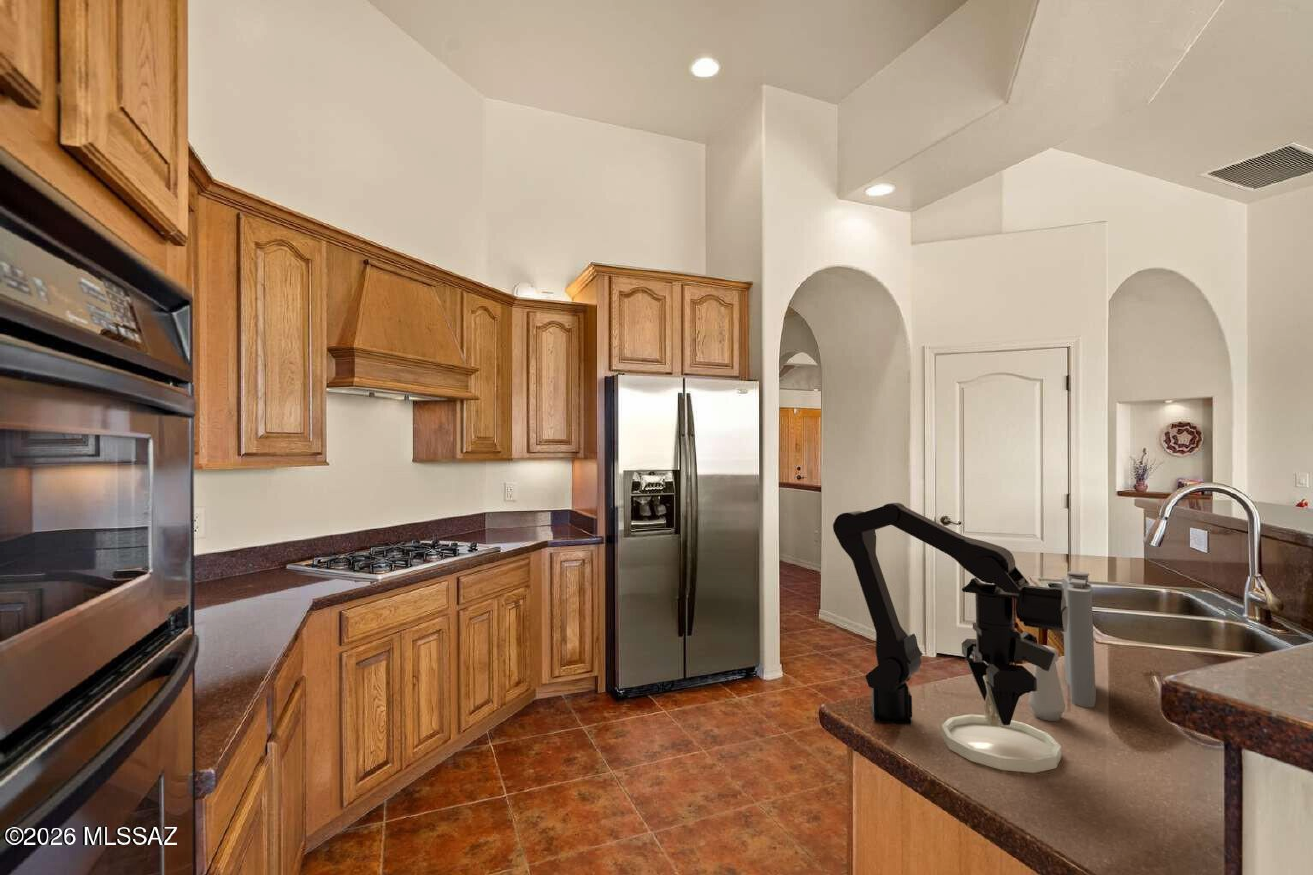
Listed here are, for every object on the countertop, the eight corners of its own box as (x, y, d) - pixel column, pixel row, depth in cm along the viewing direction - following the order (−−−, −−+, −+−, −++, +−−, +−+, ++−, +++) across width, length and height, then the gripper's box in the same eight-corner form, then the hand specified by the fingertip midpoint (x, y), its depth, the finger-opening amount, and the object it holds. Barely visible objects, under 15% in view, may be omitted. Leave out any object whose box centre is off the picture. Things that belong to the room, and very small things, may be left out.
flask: (1100, 709, 118) (1095, 579, 119) (1071, 704, 120) (1067, 577, 122) (1090, 681, 133) (1085, 566, 134) (1064, 677, 135) (1060, 564, 137)
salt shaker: (1071, 724, 111) (1068, 652, 112) (1036, 721, 112) (1034, 650, 113) (1057, 711, 117) (1054, 643, 118) (1024, 709, 118) (1022, 641, 119)
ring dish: (958, 765, 96) (958, 754, 96) (933, 721, 113) (933, 711, 113) (1079, 776, 93) (1078, 764, 93) (1034, 729, 109) (1034, 718, 109)
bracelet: (982, 730, 101) (981, 681, 101) (985, 713, 108) (984, 667, 108) (1010, 736, 99) (1009, 686, 99) (1011, 718, 106) (1010, 671, 106)
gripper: (1072, 639, 93) (1076, 743, 92) (1025, 610, 111) (1028, 697, 111) (993, 635, 95) (995, 736, 95) (959, 607, 114) (961, 692, 113)
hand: (997, 714), depth 103 cm, fingers closed on bracelet, 8 cm apart
